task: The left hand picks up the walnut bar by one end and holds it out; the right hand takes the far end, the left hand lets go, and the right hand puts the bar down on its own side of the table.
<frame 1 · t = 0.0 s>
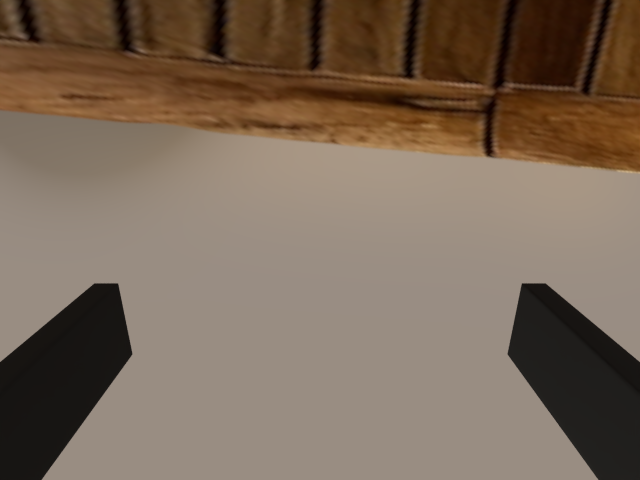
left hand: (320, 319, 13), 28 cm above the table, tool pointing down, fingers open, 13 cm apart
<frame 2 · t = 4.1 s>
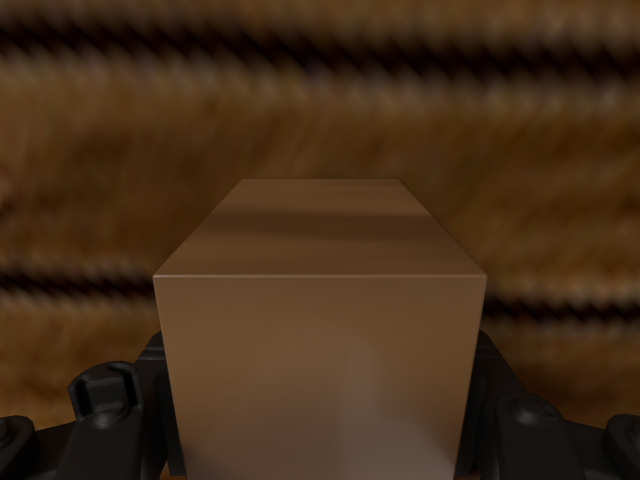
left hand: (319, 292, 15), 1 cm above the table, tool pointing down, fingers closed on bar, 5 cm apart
bar: (320, 452, 18), on the table, touching left hand
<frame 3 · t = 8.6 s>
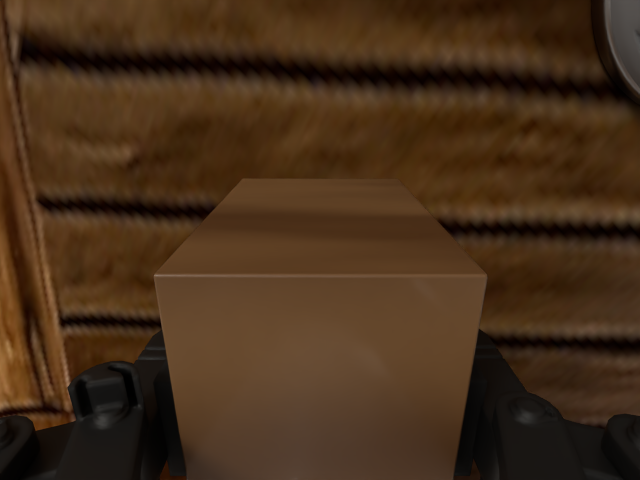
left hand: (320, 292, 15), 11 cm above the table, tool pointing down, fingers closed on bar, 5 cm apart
bar: (319, 451, 18), point 11 cm above the table, touching left hand, right hand
when the left hand's fingers open (11 cm above the table, at t = 9.7 s): bar stays where it is, held by the right hand.
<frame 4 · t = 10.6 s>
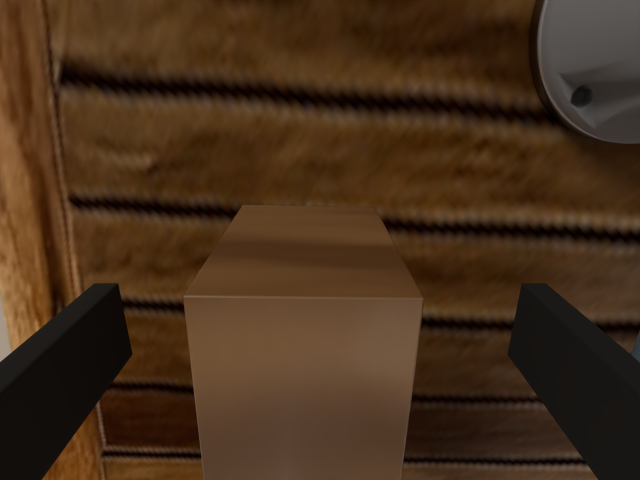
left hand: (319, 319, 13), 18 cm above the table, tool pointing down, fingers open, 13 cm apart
bar: (306, 440, 21), point 13 cm above the table, touching right hand
when the right hand's fingers open (4 cm above the table, at t = 16.9 s): bar stays where it is, resting on anatomical model.
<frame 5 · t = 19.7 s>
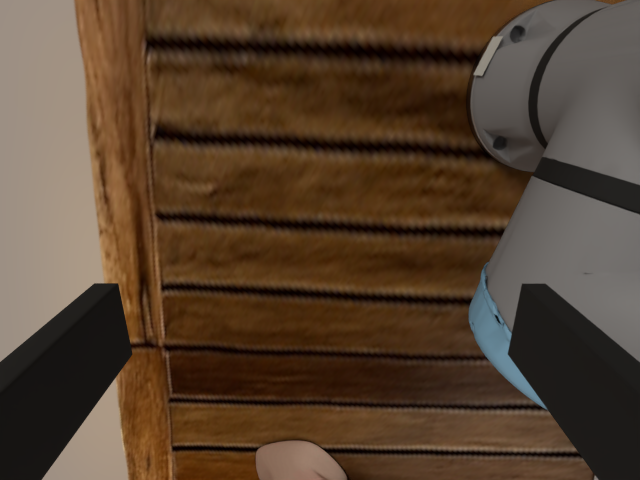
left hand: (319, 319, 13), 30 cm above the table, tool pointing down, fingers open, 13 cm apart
anatomical model: (299, 469, 56), on the table, touching bar
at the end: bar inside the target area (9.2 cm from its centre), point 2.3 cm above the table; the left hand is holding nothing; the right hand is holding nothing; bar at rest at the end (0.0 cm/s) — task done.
